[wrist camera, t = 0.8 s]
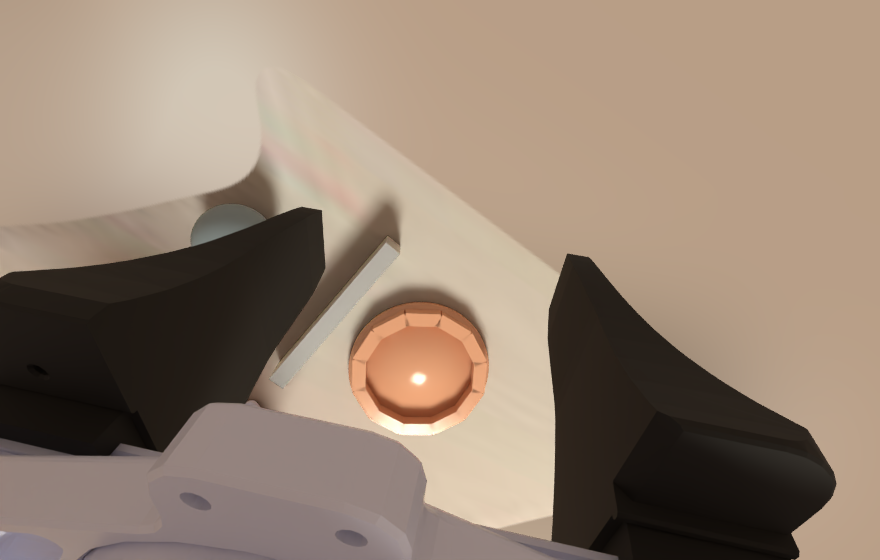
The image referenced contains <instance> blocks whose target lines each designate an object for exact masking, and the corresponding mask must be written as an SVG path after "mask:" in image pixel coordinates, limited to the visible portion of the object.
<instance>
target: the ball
mask: <svg viewBox="0 0 880 560" xmlns="http://www.w3.org/2000/svg"><path fill="white" fill-rule="evenodd" d="M265 220H266V219H265V218H264V216H262V215H261V214H260V213H259V212H257V211H256V210H254V209H252V208H250V207H247V206H245V205H240V204H222V205H218V206H216V207H213V208H211V209H209V210H208V211H206V212H205V213H204V214H202V215H201V216H200V217H199V219H198V220H197V221H196V223H195V225H194V227H193V229H192V233H191V247H192V246H195V245H199V244H202V243H205V242H209V241H212V240H215V239H217V238H220V237H223V236H226V235H229V234H231V233H234V232H237V231H240V230H242V229H245V228H248V227H250V226H253V225H255V224H258V223H260V222H262V221H265Z"/></svg>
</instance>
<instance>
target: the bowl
mask: <svg viewBox="0 0 880 560" xmlns="http://www.w3.org/2000/svg"><path fill="white" fill-rule="evenodd" d="M348 370H349V380H350V385H351V388H352V391H353V394H354V396H355V397H356V399H357V401H358V402H359V404H360V405H361V407H362V408H363V410H364V411H365V413H366V415H367V416H368V418H369V419H370V418H371V419H370V420H372V421H373V422H375V423H377V424H379V425H381V426H383V427H385V428H387V429H389V430H391V431H393V432H395V433H397V434H400V435H433V433H434V434H437V433H439V432H441V431H443V430H446V429H448V428H450V427H452V426H454V425H456V424H458V423H460V422H462V421H464V419H466V418H467V416H468V415H469V414H470V412H471V411H472V410H473V408H474V407H475V406H476V404H477V403H478V402H479V400H480V399H481V397H482V396H483V395H484V394H483V393H484V391H485V385H486V382H487V378H488V370H489V362H488V355H487V351H486V347H485V345H484V343H483V340H482V338H481V336H480V334H479V333H478V331H477V329H476V328H475V327H474V326H473V325H472V323H471V322H470V321H469V320H467V319H466V318H465V317H464V316H463V315H461V314H460V313H458V312H457V311H455V310H453V309H451V308H449V307H446V306H443V305H440V304H435V303H430V302H411V303H404V304H401V305H397V306H394V307H392V308H389V309H387V310H385V311H383V312H382V313H380V314H378V315H377V316H376V317H374V318H373V319H372V320H371V321H370V322H369V323H368V324H367V325H366V326H365V327H364V328H363V329H362V331H361V332H360V333H359V335H358V337H357V339H356V341H355V343H354V345H353V348H352V351H351V355H350V360H349V369H348Z"/></svg>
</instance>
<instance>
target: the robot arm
mask: <svg viewBox="0 0 880 560" xmlns="http://www.w3.org/2000/svg"><path fill="white" fill-rule="evenodd" d="M324 270H325V254H324V238H323V223H322V210H317V209H311V208H305V207H300V208H296V209H293V210H290V211H288V212H285V213H282V214H280V215H277V216H275V217H272V218H270V219H267V220H265V221H262V222H260V223H258V224H255V225H253V226H250V227H248V228H245V229H242V230H240V231H237V232H234V233H231V234H229V235H226V236H223V237H220V238H217V239H215V240H212V241H209V242H205V243H202V244H199V245H195V246H192V247H188V248H184V249H181V250H177V251H173V252H169V253H164V254H159V255H154V256H149V257H144V258H139V259H134V260H129V261H123V262H116V263H109V264H102V265H94V266H85V267H76V268H64V269H50V270H36V271H19V272H11V273H8V274H6V275H4V276H3V277H1V278H0V560H791V559H794V560H795V559H797V558H798V557H799V549H798V547H797V545H796V543H795V541H794V539H793V537H792V534H791V533H792V532H793V531H794V530H795V529H797V528H798V527H799V526H801V525H802V524H803V523H804V522H806V521H807V520H808V519H809V518H811V517H812V516H813V515H814V514H815V513H817V512H818V511H819V510H820V509H822V507H823V506H824V505H825V504H826V503H827V502H828V501H829V500H830V499H831V497H832V496H833V493H834V490H835V487H836V480H835V476H834V472H833V470H832V469H831V467H830V465H829V464H828V462H827V461H826V459H825V457H824V456H823V454H822V452H821V451H820V449H819V447H818V446H817V444H816V443H815V441H814V439H813V438H812V436H811V434H810V433H809V431H808V430H807V429H806V428H804V427H802V426H800V425H798V424H796V423H794V422H793V421H791V420H789V419H787V418H785V417H783V416H781V415H779V414H778V413H775V412H774V411H772V410H770V409H768V408H766V407H764V406H762V405H761V404H759V403H757V402H755V401H753V400H752V399H750V398H748V397H747V396H745V395H743V394H742V393H740V392H738V391H737V390H735V389H733V388H732V387H730V386H729V385H727V384H725V383H724V382H722V381H721V380H719V379H717V378H716V377H715V376H713V375H711V374H710V373H709V372H707V371H706V370H705V369H703V368H702V367H700V366H699V365H697V364H696V363H695V362H693V361H692V360H691V359H689V358H688V357H687V356H685V355H684V354H683V353H681V352H680V351H679V350H678V349H676V348H675V347H674V346H672V345H671V344H670V343H669V342H668V341H667V340H666V339H664V338H663V337H662V336H661V335H660V334H659V333H657V332H656V331H655V330H654V329H653V328H652V327H651V326H650V325H649V324H648V323H647V322H646V321H645V320H644V319H643V318H642V317H641V316H640V315H638V313H637V312H636V311H635V310H634V309H633V308H632V307H631V306H630V305H629V304H628V303H627V301H626V300H625V299H624V298H623V297H622V296H621V295H620V294H619V293H618V291H617V290H616V289H615V288H614V286H613V285H612V284H611V283H610V282H609V280H608V279H607V278H606V277H605V276H604V274H603V273H602V272H601V271H600V269H599V268H598V267H597V266H596V265H595V263H594V262H593V261H592V260H591V259H590V258H589V257H584V256H578V255H573V254H567V256H566V259H565V262H564V265H563V268H562V271H561V274H560V277H559V280H558V283H557V286H556V289H555V292H554V295H553V299H552V302H551V305H550V308H549V319H548V346H549V356H550V366H551V375H552V384H553V393H554V402H555V478H554V503H553V526H552V541H548V540H543V539H539V538H534V537H530V536H526V535H521V534H517V533H513V532H508V531H503V530H500V529H495V528H491V527H486V526H482V525H478V524H473V523H471V522H469V521H466V520H464V519H461V518H459V517H457V516H454V515H452V514H450V513H447V512H445V511H443V510H440V509H438V508H436V507H433V506H431V505H429V504H426V503H424V495H425V489H426V483H427V480H426V477H425V473H424V470H423V467H422V463H421V462H420V460H419V459H418V458H417V457H416V456H415V455H413V454H412V453H411V452H410V451H409V450H408V449H406V448H405V447H404V446H403V445H402V444H401V443H399V442H398V441H395V440H393V439H390V438H388V437H385V436H382V435H380V434H377V433H374V432H372V431H368V430H363V429H358V428H354V427H349V426H344V425H340V424H335V423H330V422H326V421H321V420H316V419H312V418H307V417H302V416H298V415H293V414H288V413H284V412H279V411H275V410H270V409H265V408H261V407H260V406H259V405H258V403H257V402H256V401H254V400H249V401H247V400H248V398H249V396H250V394H251V392H252V390H253V388H254V386H255V384H256V382H257V380H258V378H259V376H260V374H261V372H262V371H263V369H264V367H265V365H266V363H267V361H268V359H269V358H270V356H271V355H272V353H273V351H274V350H275V348H276V347H277V345H278V344H279V342H280V341H281V339H282V338H283V337H284V335H285V334H286V332H287V331H288V329H289V328H290V327H291V325H292V324H293V322H294V321H295V319H296V318H297V316H298V315H299V314H300V312H301V311H302V309H303V308H304V306H305V305H306V303H307V302H308V300H309V299H310V297H311V296H312V294H313V293H314V291H315V289H316V287H317V285H318V283H319V281H320V278H321V276H322V274H323V272H324Z"/></svg>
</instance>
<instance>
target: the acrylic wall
mask: <svg viewBox="0 0 880 560" xmlns="http://www.w3.org/2000/svg"><path fill="white" fill-rule="evenodd" d="M399 255H400V246H399V245H398V244H397V243H396V242H395V241H393V240H392V239H391V238H390V237H389V236H387V237H386V238H385V239H384V240H383V242H382V243H381V244H380V245H379V246H378V247H377V249H376V250H375V251H374V252H373V253H372V254H371V256H370V257H369V258H368V259H367V260H366V262H365V263H364V264H363V265H362V266H361V267H360V269H359V270H358V271H357V272H356V273H355V274H354V276H353V277H352V278H351V279H350V280H349V281H348V283H347V284H346V285H345V286H344V287H343V288H342V290H341V291H340V292H339V293H338V294H337V295H336V297H335V298H334V299H333V300H332V301H331V302H330V304H329V305H328V306H327V307H326V308H325V309H324V311H323V312H322V313H321V314H320V315H319V316H318V318H317V319H316V320H315V321H314V322H313V323H312V325H311V326H310V327H309V328H308V329H307V330H306V332H305V333H304V334H303V335H302V336H301V337H300V339H299V340H298V341H297V342H296V343H295V344H294V346H293V347H292V348H291V349H290V350H289V351H288V353H287V354H286V355H285V356H284V357H283V358H282V360H281V361H280V362H279V364H278V365H277V367H276V369H275V370H274V372H273V373H272V375H271V377H270V378H269V380H271V381H272V382H274V383H275V384H276V385H278V386H279V387H281V388H282V389H283V388H284V387H285V386H286V385H287V383H288V382H289V381H290V380H291V379H292V378H293V377H294V375H295V374H296V373H297V372H298V371H299V370H300V368H301V367H302V366H303V365H304V364H305V363H306V362H307V360H308V359H309V358H310V357H311V356H312V355H313V354H314V352H315V351H316V350H317V349H318V348H319V347H320V345H321V344H322V343H323V342H324V341H325V340H326V339H327V337H328V336H329V335H330V334H331V333H332V332H333V331H334V329H335V328H336V327H337V326H338V325H339V324H340V322H341V321H342V320H343V319H344V318H345V317H346V316H347V314H348V313H349V312H350V311H351V310H352V309H353V307H354V306H355V305H356V304H357V303H358V302H359V301H360V299H361V298H362V297H363V296H364V295H365V294H366V293H367V291H368V290H369V289H370V288H371V287H372V286H373V284H374V283H375V282H376V281H377V280H378V279H379V278H380V276H381V275H382V274H383V273H384V272H385V271H386V269H387V268H388V267H389V266H390V265H391V264H392V263H393V261H394V260H395V259H396V258H397V257H398V256H399Z"/></svg>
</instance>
